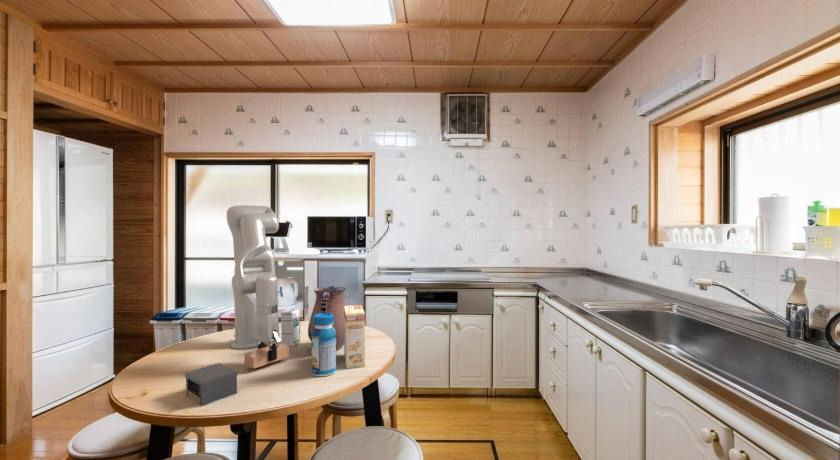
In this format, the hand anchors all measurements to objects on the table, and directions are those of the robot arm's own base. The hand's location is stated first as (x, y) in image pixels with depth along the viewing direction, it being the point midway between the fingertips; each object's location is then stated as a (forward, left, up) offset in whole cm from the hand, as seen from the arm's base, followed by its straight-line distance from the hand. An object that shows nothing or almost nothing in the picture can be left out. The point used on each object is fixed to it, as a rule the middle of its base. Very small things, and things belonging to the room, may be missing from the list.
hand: (267, 357), depth 137 cm
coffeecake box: (+23, +22, -3) cm, 32 cm away
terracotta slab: (0, 0, -1) cm, 1 cm away
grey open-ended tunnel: (+9, -22, -3) cm, 24 cm away
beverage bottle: (+23, +8, -3) cm, 24 cm away
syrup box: (-15, +20, -3) cm, 25 cm away
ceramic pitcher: (+5, +25, -3) cm, 25 cm away
